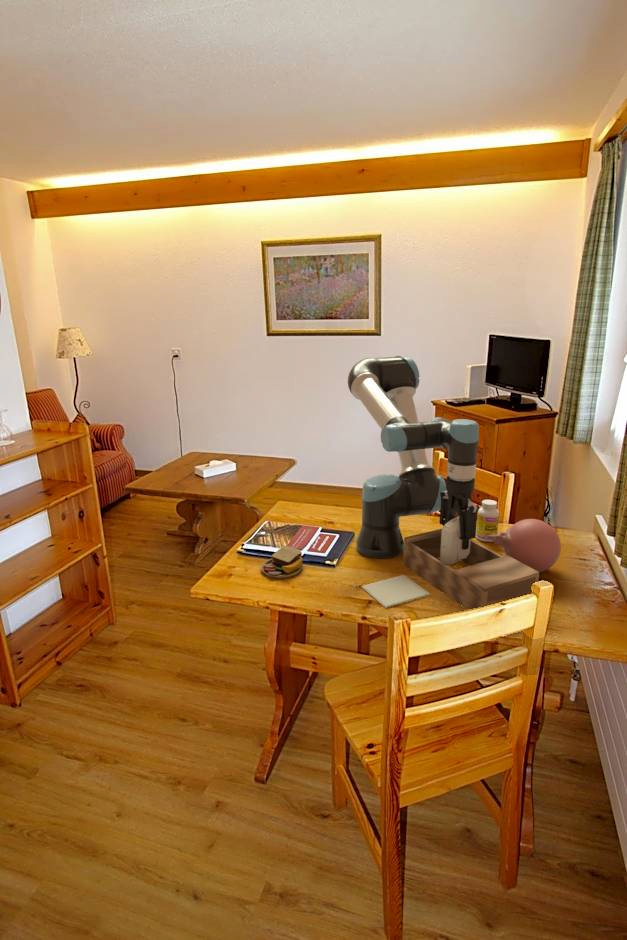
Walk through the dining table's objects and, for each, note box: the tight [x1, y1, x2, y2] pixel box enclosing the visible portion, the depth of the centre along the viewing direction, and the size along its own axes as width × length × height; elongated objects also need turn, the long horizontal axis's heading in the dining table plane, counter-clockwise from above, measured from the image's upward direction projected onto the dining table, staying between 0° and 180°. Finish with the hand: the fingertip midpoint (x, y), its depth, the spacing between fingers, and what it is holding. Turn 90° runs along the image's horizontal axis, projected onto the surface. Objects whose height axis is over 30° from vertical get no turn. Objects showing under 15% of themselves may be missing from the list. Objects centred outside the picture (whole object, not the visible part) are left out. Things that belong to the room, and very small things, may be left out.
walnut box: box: [402, 528, 540, 610], centre depth 156 cm, size 34×18×9 cm, turn 26°
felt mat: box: [361, 574, 431, 609], centre depth 153 cm, size 12×14×1 cm
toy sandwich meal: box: [260, 545, 304, 579], centre depth 167 cm, size 12×14×5 cm
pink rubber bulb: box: [488, 518, 562, 573], centre depth 162 cm, size 15×20×15 cm
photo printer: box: [439, 516, 471, 566], centre depth 158 cm, size 10×4×12 cm, turn 130°
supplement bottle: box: [475, 499, 500, 543], centre depth 183 cm, size 7×7×13 cm
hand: (455, 553), depth 159 cm, fingers closed on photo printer, 5 cm apart
